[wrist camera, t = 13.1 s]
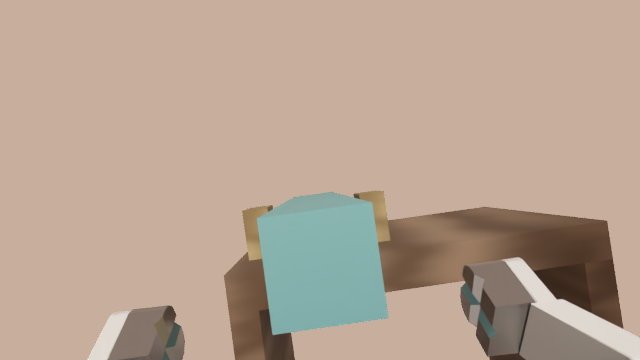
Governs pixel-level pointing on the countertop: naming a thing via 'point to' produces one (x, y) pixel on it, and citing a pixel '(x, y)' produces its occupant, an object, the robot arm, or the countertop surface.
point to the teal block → (321, 263)
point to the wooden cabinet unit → (443, 263)
